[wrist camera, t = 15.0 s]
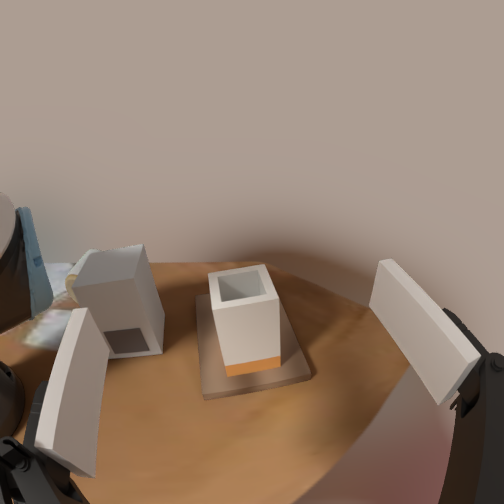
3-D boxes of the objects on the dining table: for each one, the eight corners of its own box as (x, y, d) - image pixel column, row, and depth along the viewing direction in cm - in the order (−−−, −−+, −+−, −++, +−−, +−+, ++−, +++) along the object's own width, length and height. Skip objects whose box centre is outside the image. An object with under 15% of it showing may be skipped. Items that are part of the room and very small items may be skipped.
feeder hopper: (107, 359, 34) (70, 288, 28) (117, 320, 41) (89, 253, 35) (162, 354, 35) (133, 278, 29) (165, 314, 42) (143, 243, 36)
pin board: (204, 400, 29) (193, 372, 26) (196, 301, 44) (190, 273, 42) (310, 379, 30) (313, 350, 28) (273, 288, 46) (271, 260, 43)
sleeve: (227, 376, 30) (212, 309, 25) (221, 339, 35) (208, 273, 30) (280, 366, 31) (279, 298, 26) (268, 331, 36) (264, 264, 31)
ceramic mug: (71, 307, 44) (55, 271, 40) (93, 281, 51) (80, 247, 47) (117, 314, 43) (102, 274, 39) (137, 284, 50) (126, 247, 46)
